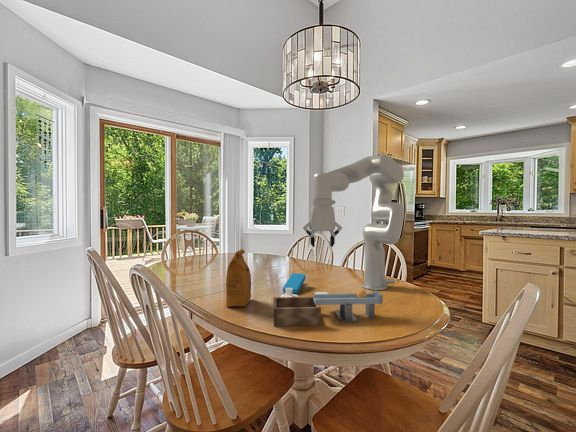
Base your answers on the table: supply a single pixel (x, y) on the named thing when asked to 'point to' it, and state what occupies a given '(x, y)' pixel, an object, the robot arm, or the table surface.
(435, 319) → the table surface
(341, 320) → the stand
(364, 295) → the ball
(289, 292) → the teacup and saucer
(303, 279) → the blue rectangular block
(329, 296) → the lever
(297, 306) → the box
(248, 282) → the coffee package
